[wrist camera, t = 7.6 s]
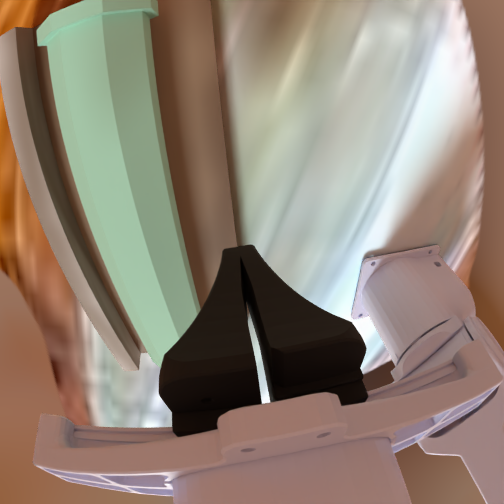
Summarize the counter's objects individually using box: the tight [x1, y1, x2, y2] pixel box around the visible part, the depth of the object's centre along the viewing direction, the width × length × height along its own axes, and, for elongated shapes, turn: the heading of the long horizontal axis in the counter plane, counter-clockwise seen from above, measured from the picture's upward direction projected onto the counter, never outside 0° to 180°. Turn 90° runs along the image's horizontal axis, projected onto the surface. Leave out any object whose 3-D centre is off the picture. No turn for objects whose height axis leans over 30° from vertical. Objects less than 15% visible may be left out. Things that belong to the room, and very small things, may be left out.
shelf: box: [0, 0, 237, 371], centre depth 18 cm, size 12×28×4 cm, turn 4°
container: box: [37, 0, 201, 368], centre depth 16 cm, size 6×6×25 cm
